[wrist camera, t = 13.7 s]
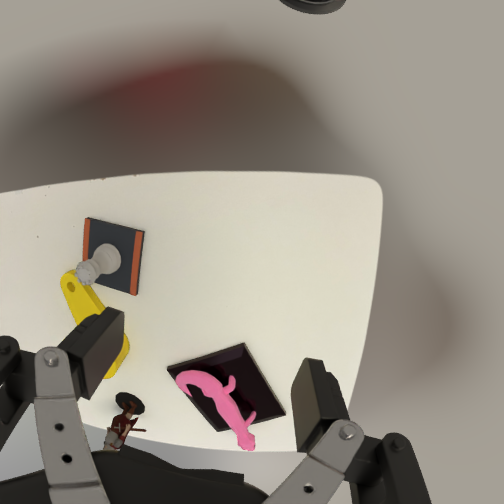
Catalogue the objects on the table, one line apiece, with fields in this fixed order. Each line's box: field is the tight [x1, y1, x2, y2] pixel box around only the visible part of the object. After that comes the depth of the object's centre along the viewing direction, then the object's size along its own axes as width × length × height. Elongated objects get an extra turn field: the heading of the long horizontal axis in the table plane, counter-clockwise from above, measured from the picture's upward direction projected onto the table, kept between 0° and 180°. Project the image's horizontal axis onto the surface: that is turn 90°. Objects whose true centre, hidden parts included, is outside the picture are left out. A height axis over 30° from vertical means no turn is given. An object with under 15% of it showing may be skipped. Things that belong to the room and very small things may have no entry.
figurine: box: [103, 393, 146, 450], centre depth 41 cm, size 7×7×15 cm
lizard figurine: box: [167, 342, 286, 451], centre depth 43 cm, size 15×20×7 cm
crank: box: [60, 270, 129, 379], centre depth 40 cm, size 18×8×6 cm, turn 22°
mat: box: [83, 217, 145, 296], centre depth 39 cm, size 10×10×1 cm
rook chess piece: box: [75, 244, 121, 285], centre depth 35 cm, size 4×4×8 cm
